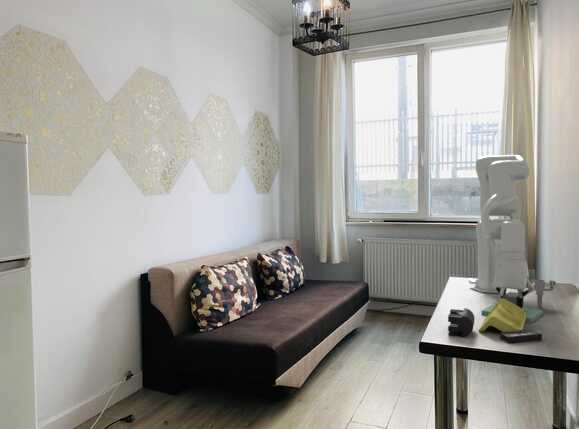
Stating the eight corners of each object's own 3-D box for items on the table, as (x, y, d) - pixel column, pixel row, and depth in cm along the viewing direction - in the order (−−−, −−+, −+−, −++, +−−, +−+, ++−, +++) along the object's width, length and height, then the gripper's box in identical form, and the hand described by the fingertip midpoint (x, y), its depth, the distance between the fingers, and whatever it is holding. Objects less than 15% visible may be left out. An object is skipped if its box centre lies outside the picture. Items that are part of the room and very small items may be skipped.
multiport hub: (499, 340, 129) (499, 332, 129) (531, 337, 132) (531, 329, 132) (509, 344, 125) (509, 337, 125) (542, 341, 127) (542, 334, 127)
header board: (481, 314, 155) (481, 300, 155) (495, 307, 165) (495, 293, 165) (530, 323, 144) (531, 308, 144) (542, 314, 154) (542, 300, 154)
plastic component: (521, 331, 129) (488, 313, 133) (509, 351, 131) (477, 332, 136) (528, 311, 145) (498, 295, 150) (517, 329, 148) (488, 313, 152)
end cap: (473, 339, 130) (473, 316, 129) (447, 336, 133) (447, 314, 132) (474, 329, 139) (474, 308, 138) (450, 327, 142) (450, 306, 141)
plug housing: (502, 311, 153) (502, 295, 153) (509, 306, 159) (510, 291, 159) (515, 313, 151) (515, 297, 150) (522, 308, 156) (522, 293, 156)
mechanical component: (556, 307, 163) (556, 281, 163) (526, 306, 165) (526, 280, 165) (552, 305, 166) (553, 279, 166) (523, 304, 168) (523, 279, 168)
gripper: (483, 255, 157) (483, 305, 158) (535, 259, 145) (535, 313, 146) (491, 253, 162) (491, 302, 163) (542, 256, 151) (541, 309, 151)
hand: (512, 306), depth 154 cm, fingers closed on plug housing, 4 cm apart
